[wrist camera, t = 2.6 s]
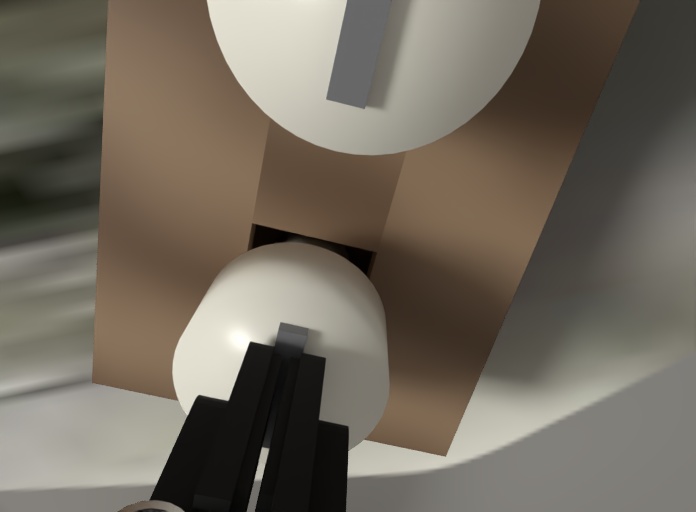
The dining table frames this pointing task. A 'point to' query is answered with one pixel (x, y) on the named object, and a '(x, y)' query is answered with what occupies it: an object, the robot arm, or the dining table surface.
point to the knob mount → (331, 202)
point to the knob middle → (372, 64)
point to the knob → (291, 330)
